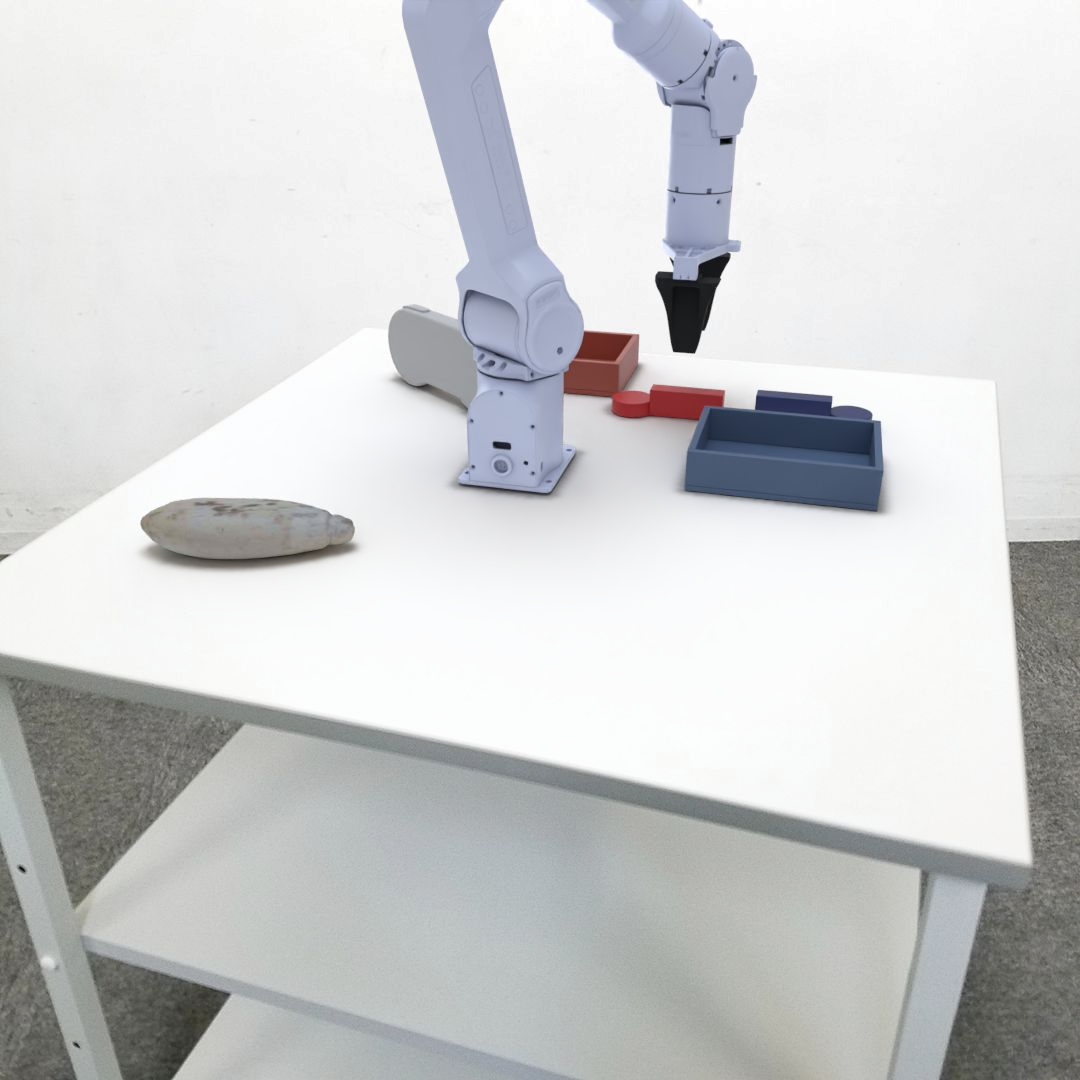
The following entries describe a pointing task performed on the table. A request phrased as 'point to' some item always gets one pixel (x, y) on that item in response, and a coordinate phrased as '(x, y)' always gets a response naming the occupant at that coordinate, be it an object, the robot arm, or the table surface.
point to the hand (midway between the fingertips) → (689, 340)
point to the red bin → (602, 363)
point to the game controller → (432, 352)
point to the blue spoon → (806, 405)
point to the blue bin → (786, 457)
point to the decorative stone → (244, 527)
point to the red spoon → (667, 401)
